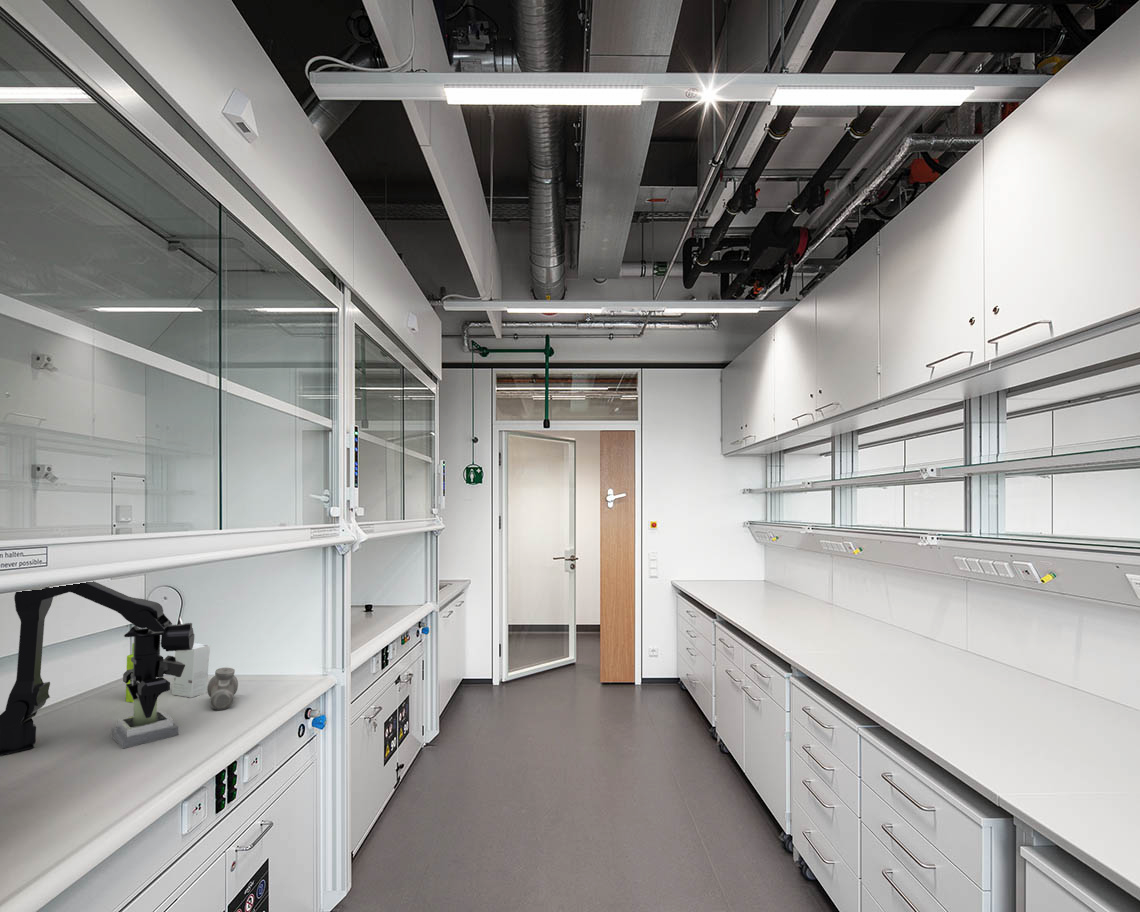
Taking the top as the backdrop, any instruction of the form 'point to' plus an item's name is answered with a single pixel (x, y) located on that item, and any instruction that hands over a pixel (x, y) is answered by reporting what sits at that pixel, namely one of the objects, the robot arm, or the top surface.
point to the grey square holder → (143, 730)
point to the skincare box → (192, 671)
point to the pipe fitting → (222, 688)
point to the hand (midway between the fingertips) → (145, 714)
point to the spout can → (139, 714)
